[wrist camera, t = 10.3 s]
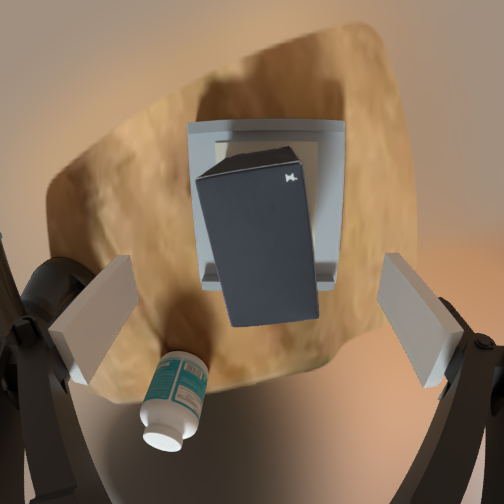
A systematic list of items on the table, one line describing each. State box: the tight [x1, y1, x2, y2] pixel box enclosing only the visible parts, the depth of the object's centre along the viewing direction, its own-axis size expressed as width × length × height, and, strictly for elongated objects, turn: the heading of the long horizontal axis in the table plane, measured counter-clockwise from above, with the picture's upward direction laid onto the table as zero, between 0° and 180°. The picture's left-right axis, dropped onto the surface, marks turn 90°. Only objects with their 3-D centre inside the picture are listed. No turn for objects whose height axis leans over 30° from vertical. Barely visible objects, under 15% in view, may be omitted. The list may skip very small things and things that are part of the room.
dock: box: [187, 118, 345, 291], centre depth 28 cm, size 14×16×4 cm
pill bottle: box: [140, 351, 209, 452], centre depth 34 cm, size 8×7×14 cm
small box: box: [195, 146, 319, 327], centre depth 22 cm, size 11×6×10 cm, turn 10°
